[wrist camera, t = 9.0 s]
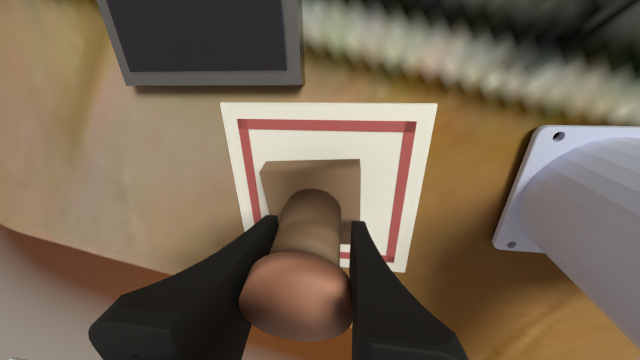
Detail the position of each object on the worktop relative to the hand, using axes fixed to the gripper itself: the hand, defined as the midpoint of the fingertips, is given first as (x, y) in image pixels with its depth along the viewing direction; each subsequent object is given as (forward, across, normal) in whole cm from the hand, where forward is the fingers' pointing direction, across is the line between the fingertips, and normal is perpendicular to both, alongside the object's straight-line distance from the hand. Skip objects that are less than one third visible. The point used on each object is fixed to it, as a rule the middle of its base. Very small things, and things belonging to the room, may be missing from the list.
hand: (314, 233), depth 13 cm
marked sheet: (+4, 0, 0) cm, 4 cm away
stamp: (+2, 0, -1) cm, 3 cm away
